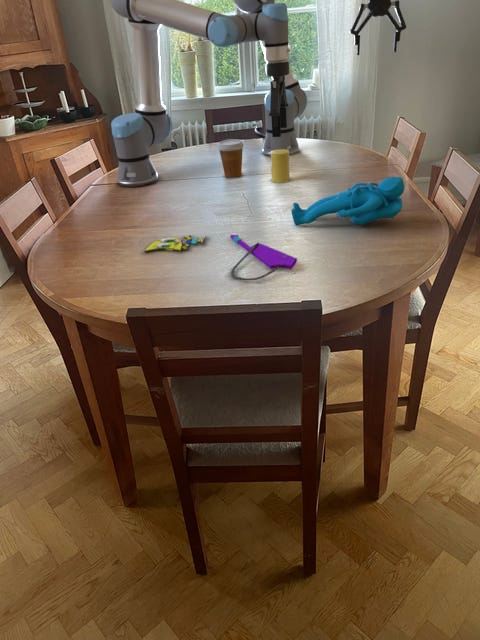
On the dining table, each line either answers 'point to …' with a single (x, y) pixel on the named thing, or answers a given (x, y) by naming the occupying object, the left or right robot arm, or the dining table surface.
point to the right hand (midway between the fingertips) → (376, 53)
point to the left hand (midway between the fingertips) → (279, 132)
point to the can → (280, 165)
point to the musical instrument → (264, 257)
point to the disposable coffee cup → (231, 156)
